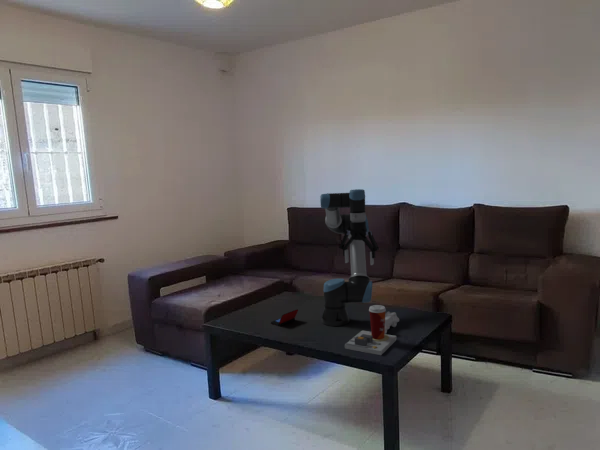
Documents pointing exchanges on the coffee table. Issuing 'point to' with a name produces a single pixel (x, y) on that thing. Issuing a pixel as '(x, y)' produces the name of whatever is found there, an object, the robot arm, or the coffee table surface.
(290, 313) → the handheld game console
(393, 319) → the bone shaped toy
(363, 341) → the tagged breaker
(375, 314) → the coffee cup
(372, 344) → the panel
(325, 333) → the coffee table surface
